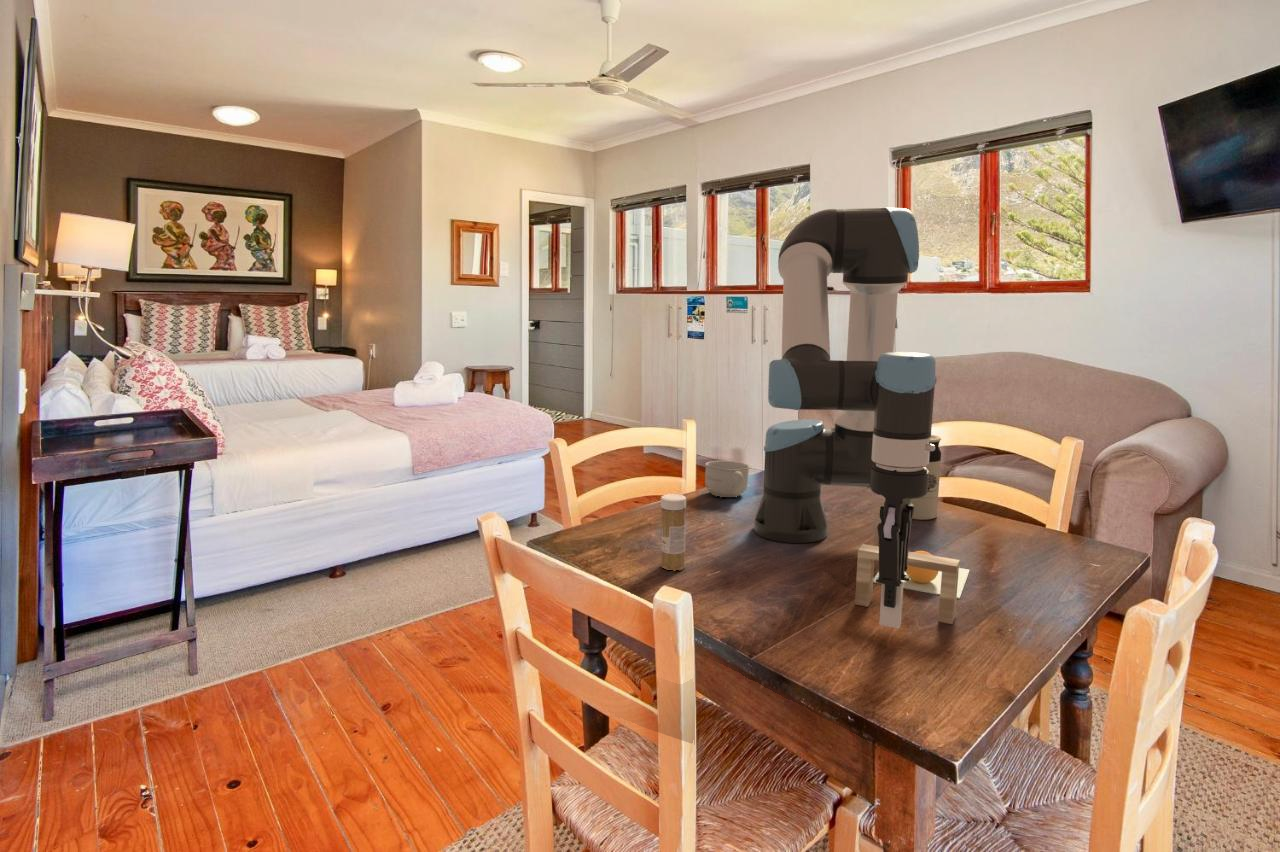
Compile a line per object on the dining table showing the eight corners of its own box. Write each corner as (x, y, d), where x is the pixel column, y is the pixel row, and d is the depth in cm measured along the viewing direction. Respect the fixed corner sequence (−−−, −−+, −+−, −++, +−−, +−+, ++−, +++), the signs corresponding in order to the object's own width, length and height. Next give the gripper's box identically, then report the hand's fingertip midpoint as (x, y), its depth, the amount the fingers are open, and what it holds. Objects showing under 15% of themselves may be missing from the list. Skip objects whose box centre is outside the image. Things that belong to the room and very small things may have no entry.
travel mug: (895, 509, 167) (900, 432, 164) (931, 510, 166) (937, 433, 162) (902, 520, 159) (908, 439, 156) (940, 521, 158) (946, 440, 155)
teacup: (701, 490, 184) (701, 459, 183) (743, 488, 185) (744, 458, 184) (711, 505, 171) (711, 472, 169) (756, 504, 171) (757, 471, 170)
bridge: (952, 624, 109) (956, 566, 107) (855, 604, 116) (857, 549, 115) (955, 616, 112) (959, 560, 110) (859, 597, 119) (862, 544, 117)
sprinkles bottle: (658, 564, 134) (658, 493, 131) (682, 562, 135) (682, 492, 132) (663, 573, 129) (663, 500, 127) (688, 571, 130) (688, 499, 128)
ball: (909, 551, 129) (904, 582, 127) (904, 545, 124) (899, 576, 123) (942, 557, 126) (938, 588, 125) (938, 550, 121) (934, 583, 120)
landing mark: (871, 582, 125) (871, 581, 125) (889, 556, 137) (889, 555, 137) (959, 598, 118) (959, 597, 118) (969, 570, 130) (969, 569, 130)
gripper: (920, 478, 93) (908, 650, 97) (936, 458, 104) (925, 613, 108) (860, 471, 96) (852, 637, 100) (882, 453, 107) (873, 602, 112)
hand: (890, 624), depth 104 cm, fingers closed
